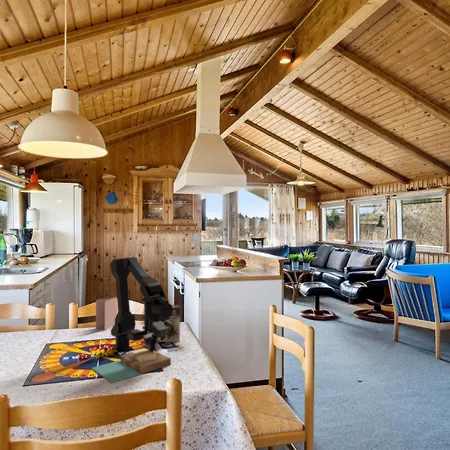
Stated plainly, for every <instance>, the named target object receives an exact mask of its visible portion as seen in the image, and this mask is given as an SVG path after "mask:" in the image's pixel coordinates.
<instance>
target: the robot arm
mask: <svg viewBox="0 0 450 450" xmlns="http://www.w3.org/2000/svg"><path fill="white" fill-rule="evenodd" d="M109 267H110V272H111V275H112V276H113V278H114V279H115V287H116V297H117V316H116V318H115V325H114V326H113V327H111V328H110V335H111V336H113V337H114V338H115V346H112V349H114V350H115V351H118V352H123V351H127V350H131V349H133V346H131V345H130V341H133V342H137V341H141V340H144V342H145V344H146V346H147V349H149V351H151V352H153V351H155V349H156V346H157V343H158V341H159V338H160V337H162V336H163V335H164V336H165V335H166V334H167V332H168V333H171V332H174V331H175V327H174V325H173V324H171V322H170V321H167V322H162V321H161V317H162V318H169V317H170V316H171V315H172V313H173V308H172V304H171V303H169V301H170V300H169V299H167V297H166V293H165V291H164V289H163V286H162V284H161V283H160V282H159V281H158V280H157V279H156V278H154V277H151V276H150V275H149V274H148V272H147V271H146V270H145V269H144V267H143V266H142V265H141V263H140V262H139V261H138V258H137V257H135V256H133V257H132V256H130V257H129V256H128V257H122V258H119V257H118V258H113V259H112V260H111V261H110V264H109ZM130 274H132V276H133V277H134V279H135V281H137V282H138V285H139V291H140V292H141V293H140V294H141V295H142V296H143V297H142V299H141V302H142V303H144V304H143V305H144V308H143V311H144V313H143V315H142V319H144V320H143V321H144V322H143V326H142V330H140V329H137V328H136V324H137V323H136V316H135V314H133V313H132V312H131V309H130V307H131V306H130V297H129V283H128V282H129V281H128V280H129V279H128V278H129V275H130Z"/></svg>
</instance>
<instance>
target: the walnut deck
mask: <svg viewBox="0 0 450 450" xmlns="http://www.w3.org/2000/svg"><path fill="white" fill-rule="evenodd" d="M146 349H147V350H149V349H148V348H146ZM153 353H155V354H156V359H154V360H150V361H147V362H143V363H142V362H140V361H138V360H136V359H134V358H133V357H131V352H129V353H125V354H121V355H120V362H122V363H123V364H125V365H127V366H128V367H130V368H132V369H134V370H135V371H137V372H139V373H140V375H143V374H145V373H149V372H153V371H155V370H159V369H161V368H166V367H168V366H171V364H172V363H171V362H172V361H171V360H172V359H171V357H168V356H166V355H164V354H162V353H159V352H158V351H156V350H154V351H153Z"/></svg>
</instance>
